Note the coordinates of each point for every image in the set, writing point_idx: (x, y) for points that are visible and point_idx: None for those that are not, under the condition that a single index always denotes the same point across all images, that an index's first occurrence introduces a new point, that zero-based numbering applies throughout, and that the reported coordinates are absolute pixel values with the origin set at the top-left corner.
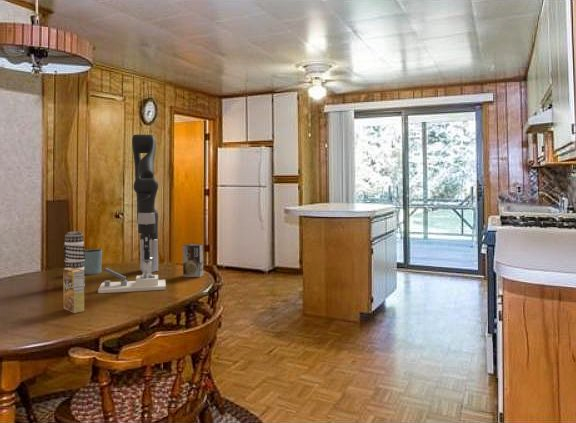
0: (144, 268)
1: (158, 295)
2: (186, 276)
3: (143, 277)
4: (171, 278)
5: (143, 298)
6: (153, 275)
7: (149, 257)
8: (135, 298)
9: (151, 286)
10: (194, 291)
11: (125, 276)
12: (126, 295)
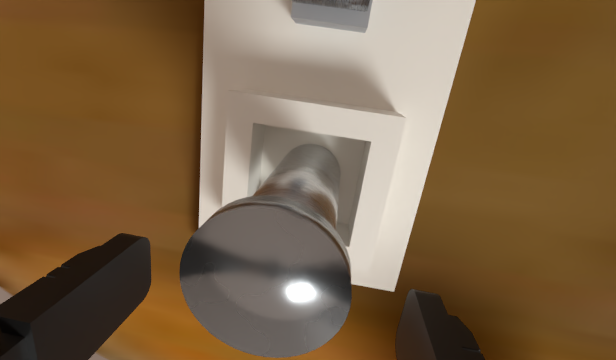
0: (256, 191)
1: (82, 189)
2: None
3: (286, 159)
4: (503, 333)
5: (26, 107)
6: (352, 239)
7: (258, 318)
8: (30, 64)
9: (213, 184)
10: (135, 343)
11: (365, 5)
12: (110, 14)
